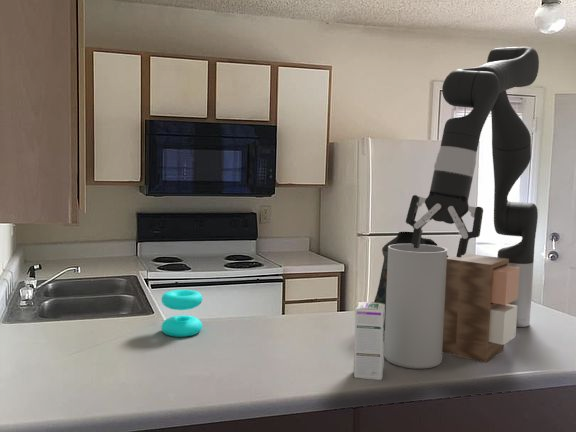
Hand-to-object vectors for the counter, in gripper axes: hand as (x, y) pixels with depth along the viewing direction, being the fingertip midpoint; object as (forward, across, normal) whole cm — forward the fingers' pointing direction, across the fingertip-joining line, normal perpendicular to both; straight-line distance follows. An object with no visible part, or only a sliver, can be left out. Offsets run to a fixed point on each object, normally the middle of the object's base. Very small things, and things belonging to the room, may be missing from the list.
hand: (437, 252), depth 116 cm
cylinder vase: (+25, +2, -12) cm, 28 cm away
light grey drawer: (+18, -13, -22) cm, 31 cm away
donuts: (+34, +58, -4) cm, 67 cm away
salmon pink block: (+9, -12, -21) cm, 26 cm away
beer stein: (+24, +11, -38) cm, 46 cm away
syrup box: (+28, +8, +2) cm, 29 cm away
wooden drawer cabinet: (+22, -8, -24) cm, 34 cm away
